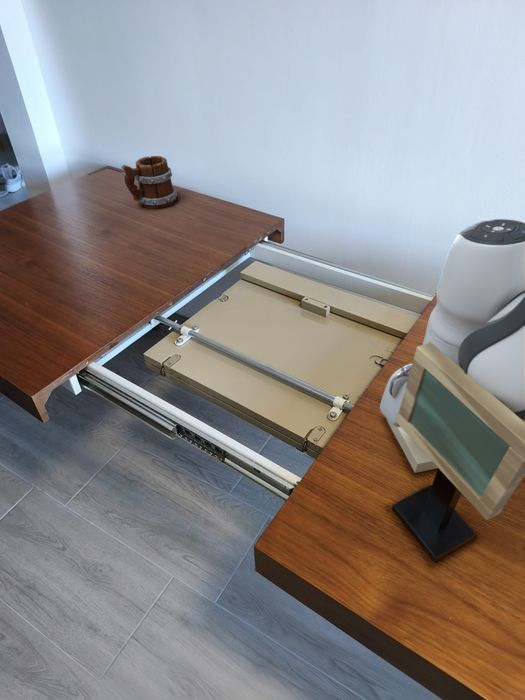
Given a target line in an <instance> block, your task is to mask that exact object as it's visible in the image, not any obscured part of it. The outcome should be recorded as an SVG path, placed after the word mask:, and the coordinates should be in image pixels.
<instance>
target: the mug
mask: <svg viewBox="0 0 525 700" xmlns="http://www.w3.org/2000/svg"><path fill="white" fill-rule="evenodd" d="M120 168H121V169H122V170H123V171H124V173H125V175H124V184H125V186H126V188H127V190H129V193H130V194H131V195H132V198H133V200H134V201H136V202H139V203H140V205H141V207H144V208H146V209H154V210H155V209H163V208H166V207H169V206H172V205H173V204H174V203H175V202H176V201H177V197H178V194H177V189H176V188H175V187H174V185H173V183H172V177H173V172H172V170H171V168H170V167H169V164H168V160H167V158H165V157H163V156H161V155H151V156H149V155H148V156H144V157H140V158H139V159H137V160H136V161H135V168H132V167H131V166H129V165H125V164H123V165H122V166H121V167H120ZM135 181H136V182H138V185H137V184H135Z"/></svg>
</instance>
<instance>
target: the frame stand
mask: <svg viewBox="0 0 525 700" xmlns="http://www.w3.org/2000/svg"><path fill="white" fill-rule="evenodd" d="M462 495H463V494H462V493H461V492H460V491H459V490H458V489H457V488H456V486H455V485H454V484H453V483H452V482H451V481H450V480H449V479H448V478H447V477H446V476H445V474H444V473H443V472H442V471H441V470H440V469H439V468H437V470H436V473H435V476H434V479H433V482H432V484H430V485H427V486H426V487H424V488H421V489H420V490H418V491H416V492H414V493H413V494H411V495H409V496H407V497H405V498H403V499H401V500H400V501H397V502H395V503H393V504H392V507H391V511H392V512H393V513H394V514H395V516H396V517H397V518H398V519H399V521H400V522H401V523H402V524H403V526H404V527H405V528H406V530H407V531H408V532H409V534H410V535H411V536H412V537H413V538H414V539H415V541H416V542H417V544H419V546H420V547H421V548H422V550H423V551H424V552H425V553H426V555H427V556H428V557H429V559H430V561H432V562H433V563H435V562H437V561H439V560H440V559H442V558H444V557H445V556H447V555H448V554H450V553H451V552H454V551H456V550H457V549H459V548H460V547H462V546H463V545H465V544H467V543H468V542H470V541H472V540H474V539H475V537H476V535H477V534H476V532H475V531H474V530H473V529H472V528H471V527H470V525H469V524H468V523H467V522H466V521H465V520H464V519H463V518H462V517H461V516H460V515H459V514H458V512H457V511H456V510H455V509H456V508H457V506H458V503H459V501H460V498H461V496H462Z"/></svg>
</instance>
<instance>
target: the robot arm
mask: <svg viewBox="0 0 525 700" xmlns="http://www.w3.org/2000/svg"><path fill="white" fill-rule="evenodd" d="M435 292H436V295H435V296H436V304H435V306H434V308H433V309H432V310H431V312H430V315H429V318H428V322H427V326H426V329H425V334H424V336H423V337H424V338H423V341H422V345H424V344H426V343H429V342H431V343H432V344H433V345H435V346H436V347H437V348H438V349H439V350H441V351H442V352H443V353H444V354H445V355H446V356H448V357H449V358H450V359H451V360H452V361H453V362H455V363H456V364H457V365H458V366H459V367H460V368H462V369H463V370H464V373H465V374H467V375H468V376H469V377H470V378H471V379H472V380H473V381H474V382H475V383H477V384H478V385H479V386H481V387H482V388H483V389H485V390H487V391H488V392H490V393H491V394H492V395H493V396H494V397H496V398H497V399H498V400H499V401H500V402H501V403H503V404H504V405H505V406H506V407H507V408H508V409H510V410H511V411H512V412H513V413H514V414H516V415H517V416H518V417H519V418H520V419H521V420H523V421H524V420H525V222H523V221H520V220H515V219H504V218H497V219H490V220H482V221H480V222H476V223H474V224H471V225H469V226H467V227H466V228H465V229H463V230H462V231H460V232H459V233H458V234H457V235H456V236H455V238H454V240H453V242H452V243H451V246H450V247H449V250H448V252H447V255H446V257H445V260H444V262H443V266H442V269H441V272H440V276H439V279H438V283H437V286H436V291H435ZM411 366H412V363H408V364H406V365H404V366H402V367H400V368H398V369H397V370H396V371H394V373H392V375H391V376H390V377H389V379H388V381H387V383H386V386H385V388H384V391H383V394H382V396H381V401H380V403H379V411H380V413H381V414H382V415H383V417H385V419H386V420H387V419H388V420H389V421H390V422H391V423H392V424H393V425H395V426H396V427H401V426H400V425H399V424H398V423H397V422H396V421H397V417H398V414H399V410H400V406H401V403H402V399H403V395H404V392H405V388H406V385H407V381H408V377H409V374H410V370H411Z"/></svg>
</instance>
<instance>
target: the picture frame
mask: <svg viewBox="0 0 525 700" xmlns="http://www.w3.org/2000/svg"><path fill="white" fill-rule="evenodd" d="M411 364H412V366H411V370H410V374H409V377H408V381H407V385H406V388H405V392H404V395H403V399H402V403H401V406H400V410H399V414H398V417H397V421H396V422H397V423H398V424H399V425H400V426H401V427H402V429H403V430H404V431H405V432H406V433H407V434H408V435H409V436H410V437H411V438H412V439H413V441H414V442H415V443H416V444H417V445H418V446H419V447H420V448H421V449H422V450H423V452H424V453H425V454H426V455H427V456H428V457H429V458H430V459H431V460H432V461H433V462H434V464H435V465H436V466H437V467H438V468H439V469H440V470H441V471H442V472H443V473H444V474H445V476H446V477H447V478H448V479H449V480H450V481H451V482H452V483H453V484H454V485H455V486H456V488H457V489H458V490H459V491H460V492H461V493H462V494H461V495H463V497H464V498H465V499H466V500H468V502H469V503H470V504H471V505H472V507H474V508H475V510H476V511H477V512H478V513H479V514H480V515H481V516H482V518H483V519H484V520H486V521H489V520H491V519H492V518H494V517H496V516H498V515H499V514H500V513H501V512H502V511H503V509H504V507H505V506H506V504H507V503H508V501H509V500H510V498H511V497H512V495H513V493H514V492H515V490H516V489H517V487H518V485H520V483H521V481H522V480H523V478H524V477H525V421H524V420H523V419H520V418H519V417H518V416H517V415H516V414H514V413H513V412H512V411H511V410H510V409H508V408H507V407H506V406H505V405H504V404H503V403H501V402H500V401H499V400H498V399H497V398H496V397H494V396H493V395H492V394H491V393H490V392H488V391H487V390H485V389H483V388H482V387H481V386H479V385H478V384H477V383H475V382H474V381H473V380H472V379H471V378H470V377H469V376H468V375H467V374H465V373H464V370H463V369H462V368H460V367H459V366H458V365H457V364H456V363H455V362H453V361H452V360H451V359H450V358H449V357H448V356H446V355H445V354H444V353H443V352H442V351H441V350H439V349H438V348H437V347H436V346H435V345H433V344H432V343H431V342H429V343H426V344H424V345H423V344H421V345H418V346H417V347H416V349H415V352H414V356H413V359H412V363H411ZM438 468H437V469H438Z"/></svg>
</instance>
